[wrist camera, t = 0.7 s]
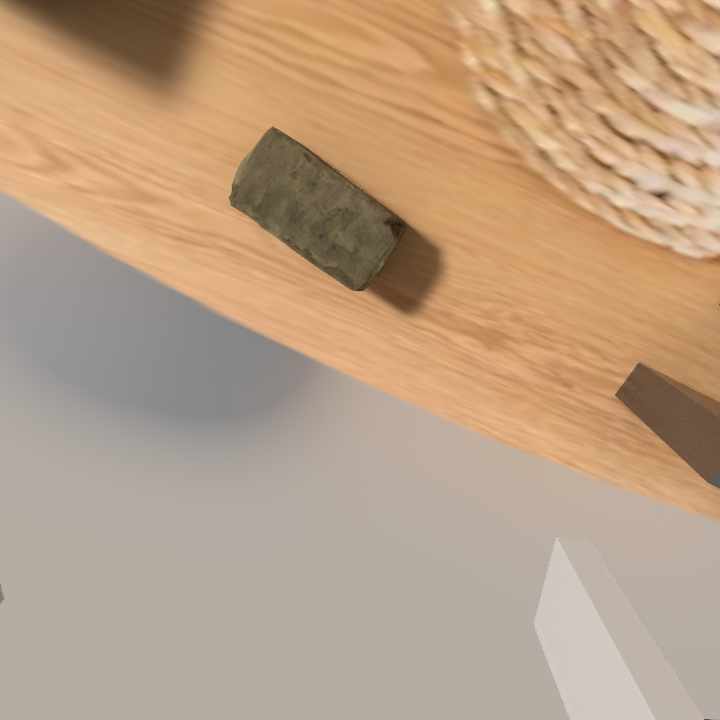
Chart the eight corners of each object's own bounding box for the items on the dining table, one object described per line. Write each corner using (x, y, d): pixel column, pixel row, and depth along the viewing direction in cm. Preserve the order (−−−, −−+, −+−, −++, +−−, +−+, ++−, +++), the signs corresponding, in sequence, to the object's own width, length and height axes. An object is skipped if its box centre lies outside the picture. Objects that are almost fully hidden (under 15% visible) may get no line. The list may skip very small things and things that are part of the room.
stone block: (368, 288, 36) (361, 300, 31) (240, 200, 35) (213, 199, 30) (412, 222, 34) (412, 224, 29) (279, 127, 33) (256, 114, 28)
